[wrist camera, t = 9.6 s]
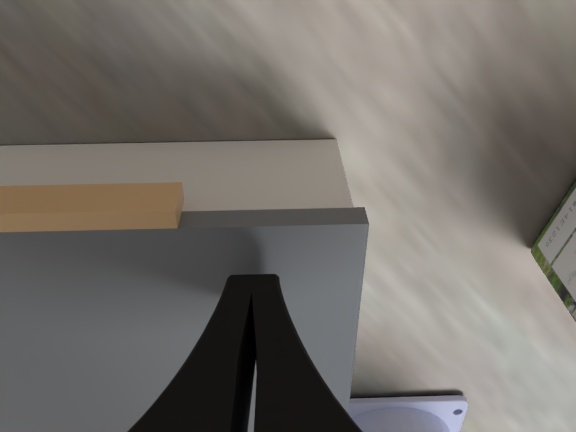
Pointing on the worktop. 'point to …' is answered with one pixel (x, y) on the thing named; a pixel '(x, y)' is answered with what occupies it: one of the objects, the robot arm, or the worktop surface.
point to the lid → (152, 295)
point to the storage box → (195, 171)
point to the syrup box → (560, 251)
